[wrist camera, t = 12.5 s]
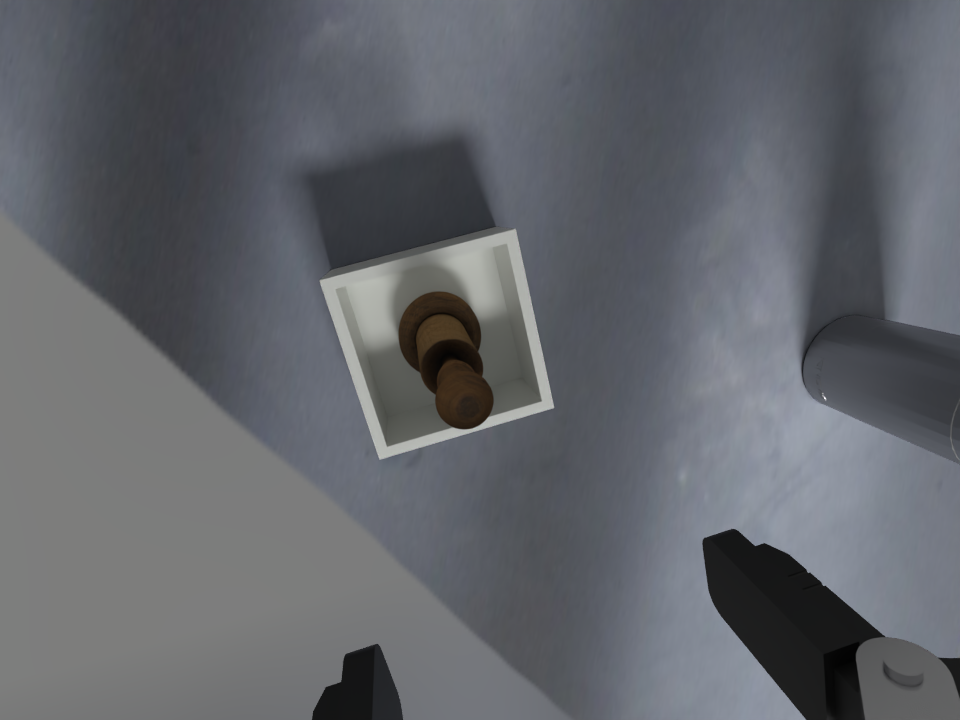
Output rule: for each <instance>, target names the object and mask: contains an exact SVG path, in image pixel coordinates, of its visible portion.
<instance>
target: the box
mask: <svg viewBox="0 0 960 720" xmlns="http://www.w3.org/2000/svg"><path fill="white" fill-rule="evenodd" d="M319 281H320V284H321V287H322V290H323V293H324V296H325V299H326V302H327V305H328V308H329V311H330V314H331V316H332V319H333V322H334V325H335V328H336V331H337V334H338V337H339V340H340V343H341V346H342V349H343V352H344V355H345V358H346V361H347V364H348V367H349V370H350V373H351V376H352V379H353V382H354V385H355V388H356V391H357V394H358V397H359V400H360V403H361V406H362V409H363V412H364V415H365V418H366V421H367V424H368V427H369V430H370V433H371V436H372V439H373V442H374V445H375V448H376V451H377V453H378V456H379V459H383V458H387V457H390V456H393V455H397V454H400V453H404V452H407V451H410V450H414V449H417V448H420V447H424V446H427V445H431V444H434V443H437V442H441V441H444V440H447V439H451V438H454V437H458V436H461V435H464V434H468V433H471V432H474V431H478V430H481V429H485V428H488V427H491V426H495V425H498V424H502V423H505V422H508V421H512V420H515V419H518V418H522V417H525V416H529V415H532V414H535V413H539V412H542V411H545V410H549V409H552V408H554V405H553V400H552V396H551V391H550V386H549V382H548V377H547V372H546V368H545V363H544V358H543V354H542V349H541V344H540V340H539V335H538V331H537V326H536V321H535V317H534V312H533V307H532V303H531V298H530V293H529V289H528V284H527V279H526V275H525V270H524V266H523V261H522V256H521V252H520V247H519V242H518V238H517V233H516V229H512V228H503V227H493V228H489V229H485V230H481V231H478V232H474V233H470V234H466V235H462V236H458V237H455V238H451V239H447V240H443V241H439V242H435V243H432V244H428V245H424V246H420V247H416V248H412V249H409V250H405V251H401V252H397V253H393V254H389V255H386V256H382V257H378V258H374V259H370V260H367V261H363V262H359V263H355V264H351V265H347V266H344V267H340V268H336V269H332V270H330V271H329V272H328V273H327V274H326V275H325V276H324V277H323V278H321V279H320V280H319ZM436 291H442V292H448V293H452V294H454V295H456V296H458V297H460V298H461V299H463V300H464V301H465V302H466V303H467V304H468V305H469V306H470V307H471V309H472V310H473V312H474V313H475V315H476V317H477V319H478V321H479V324H480V329H481V344H480V348H479V351H478V352H479V354H480V356H481V358H482V362H483V375H482V377H483V378H484V379H485V380H486V381H487V383H488V384H489V386H490V387H491V390H492V392H493V397H494V403H493V408H492V411H491V413H490V415H489V417H488V418H487V419H486V420H485V421H484V422H483V423H482V424H481V425H479V426H477V427H475V428H472V429H466V430H463V429H457V428H453V427H451V426H450V425H448V424H447V423H445V422H444V421H443V420H442V419H441V417H440V416H439V414H438V412H437V409H436V404H435V396H436V395H435V394H433V393H432V392H431V391H430V390H429V389H428V388H427V387H426V386H425V384H424V382H423V380H422V378H421V374H420V372H418V371H416V370H415V369H414V368H412V367H411V366H410V365H409V364H408V362H407V361H406V360H405V358H404V356H403V354H402V352H401V349H400V345H399V336H398V331H399V324H400V320H401V318H402V315H403V313H404V312H405V310H406V308H407V307H408V306H409V305H410V304H411V303H412V302H413V301H414V300H415V299H416V298H418V297H420V296H421V295H424V294H426V293H430V292H436Z"/></svg>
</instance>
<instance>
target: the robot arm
mask: <svg viewBox="0 0 960 720" xmlns="http://www.w3.org/2000/svg"><path fill="white" fill-rule="evenodd" d="M803 377H804V383H805V386H806V388H807V390H808V392H809V393H810V395H811V396H812V397H813V398H814V399H815V400H817V401H818V402H820V403H822V404H824V405H826V406H829V407H831V408H833V409H835V410H838V411H840V412H842V413H844V414H847V415H849V416H851V417H853V418H855V419H858V420H860V421H862V422H864V423H867V424H869V425H871V426H874V427H876V428H878V429H880V430H883V431H885V432H887V433H889V434H892V435H894V436H896V437H899V438H901V439H903V440H905V441H908V442H910V443H912V444H915V445H917V446H919V447H921V448H924V449H926V450H928V451H930V452H933V453H935V454H937V455H940V456H942V457H944V458H946V459H949V460H951V461H953V462H956V463H958V464H960V335H955V334H950V333H946V332H941V331H936V330H932V329H927V328H922V327H917V326H913V325H908V324H903V323H899V322H894V321H889V320H879V319H875V318H870V317H865V316H860V315H853V316H847V317H843V318H840V319H838V320H836V321H834V322H832V323H831V324H829V325H828V326H827V327H825V328H824V329H823V330H822V331H821V332H820V333H819V334H818V335H817V336H816V338H815V339H814V341H813V342H812V344H811V345H810V347H809V349H808V352H807V354H806V357H805V361H804V365H803ZM703 552H704V560H705V567H706V575H707V582H708V589H709V593H710V596H711V599H712V601H713V603H714V605H715V607H716V609H717V611H718V612H719V614H720V615H721V617H722V618H723V619H724V620H725V621H726V623H727V624H728V625H729V626H730V628H731V629H732V630H733V631H734V632H735V634H736V635H737V636H738V637H739V638H740V640H741V641H742V642H743V643H744V645H745V646H746V647H747V648H748V649H749V651H750V652H751V653H752V654H753V656H754V657H755V658H756V659H757V660H758V662H759V663H760V664H761V665H762V666H763V668H764V669H765V670H766V671H767V673H768V674H769V675H770V676H771V677H772V679H773V680H774V681H775V682H776V683H777V685H778V686H779V687H780V688H781V690H782V691H783V692H784V693H785V694H786V696H787V697H788V698H789V699H790V700H791V702H792V703H793V704H794V705H795V707H796V708H797V709H798V710H799V711H800V713H801V714H802V715H803V716H804V718H805V719H806V720H960V658H938V657H936V656H935V655H934V654H932V653H931V652H929V651H928V650H926V649H924V648H923V647H921V646H919V645H916V644H914V643H911V642H908V641H905V640H902V639H897V638H889V637H885V636H884V635H882V634H881V633H880V632H879V631H878V630H877V629H875V628H874V627H873V626H872V625H871V624H870V623H868V622H867V621H866V620H865V619H864V618H862V617H861V616H860V615H859V614H858V613H857V612H855V611H854V610H853V609H852V608H851V607H850V606H848V605H847V604H846V603H845V602H844V601H843V600H841V599H840V598H839V597H838V596H837V595H836V594H834V593H833V592H832V591H831V590H830V589H829V588H827V587H826V586H823V585H822V583H821V582H820V581H819V580H818V579H817V578H816V577H814V576H813V575H812V574H811V573H808V572H807V570H806V569H805V568H804V567H803V566H802V565H800V564H799V563H798V562H797V561H796V560H795V559H793V558H792V557H791V556H790V555H789V554H787V553H785V552H783V551H780V550H778V549H776V548H774V547H772V546H770V545H767V544H765V543H764V544H761V545H758V546H754V545H753V544H752V543H751V542H750V541H749V540H748V539H746V538H745V537H744V536H743V535H742V534H741V533H740V532H739V531H737V530H735V529H731V530H727V531H724V532H721V533H718V534H715V535H712V536H709V537H706V538H704V539H703ZM312 720H403V716H402V709H401V703H400V699H399V695H398V692H397V689H396V687H395V684H394V682H393V679H392V676H391V674H390V671H389V668H388V666H387V663H386V660H385V658H384V655H383V653H382V650H381V648H380V646H379V645H378V644H375V645H372V646H369V647H366V648H363V649H360V650H356V651H354V652H350V653H347V654H346V655H345V657H344V662H343V671H342V680H341V682H340V683H337V684H334V685H331V686H328V687H326V688H325V690H324V692H323V694H322V696H321V698H320V700H319V701H318V703H317V705H316V707H315V709H314V711H313V717H312Z"/></svg>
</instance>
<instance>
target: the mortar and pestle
mask: <svg viewBox="0 0 960 720" xmlns="http://www.w3.org/2000/svg"><path fill="white" fill-rule="evenodd" d="M398 336H399V345H400V349H401V352H402V354H403V356H404V358H405V360H406V361H407V362H408V364H409V365H410V366H411V367H412V368H414V369H415V370H416V371H418V372H420V374H421V378H422V380H423V382H424V384H425V386H426V387H427V388H428V389H429V390H430V391H431V392H432V393H433V394H435V395H436V396H435V404H436V409H437V412H438V414H439V416H440V417H441V419H442V420H443V421H444V422H445V423H447V424H448V425H450V426H451V427H453V428H457V429H463V430H466V429H472V428H475V427H477V426H479V425H481V424H482V423H483V422H484V421H485V420H486V419H487V418H488V417H489V415H490V413H491V411H492V408H493V403H494V397H493V392H492V390H491V387H490V386H489V384H488V383H487V381H486V380H485V379H484V378H483V377H482V375H483V362H482V358H481V356H480V354H479V352H478V351H479V348H480V344H481V329H480V324H479V321H478V319H477V317H476V315H475V313H474V312H473V310H472V309H471V307H470V306H469V305H468V304H467V303H466V302H465V301H464V300H463V299H461V298H460V297H458V296H456V295H454V294H452V293H448V292H442V291H436V292H430V293H426V294H424V295H421V296H420V297H418V298H416V299H415V300H414V301H413V302H412V303H411V304H410V305H409V306H408V307H407V308H406V310H405V312H404V313H403V315H402V318H401V320H400V324H399V331H398Z"/></svg>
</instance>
